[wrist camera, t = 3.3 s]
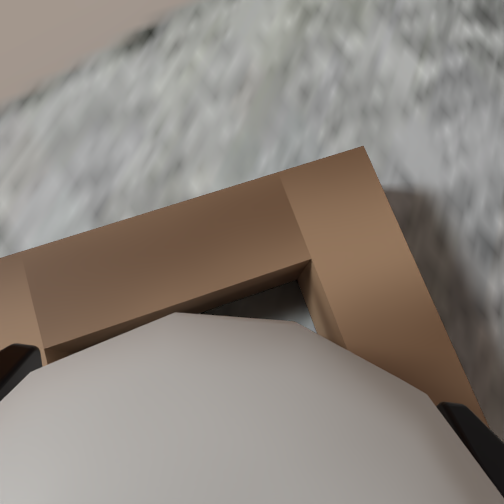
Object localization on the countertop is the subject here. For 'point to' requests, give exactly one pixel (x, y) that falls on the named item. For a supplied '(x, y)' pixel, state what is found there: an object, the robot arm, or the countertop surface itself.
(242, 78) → the countertop surface
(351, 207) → the socket block
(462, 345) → the countertop surface
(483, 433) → the robot arm
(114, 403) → the salt shaker
